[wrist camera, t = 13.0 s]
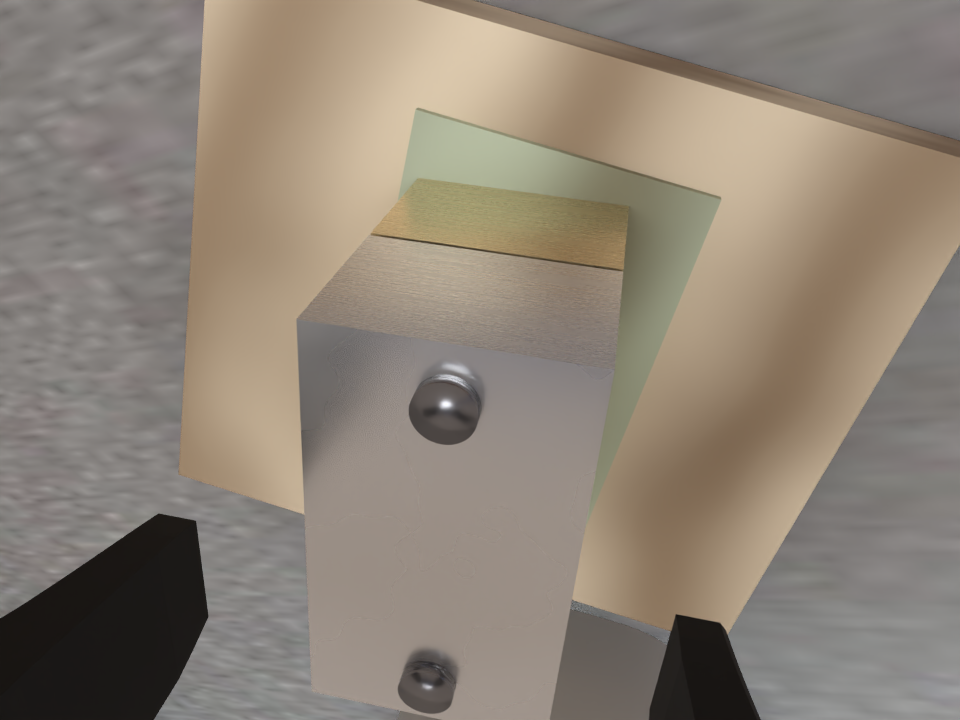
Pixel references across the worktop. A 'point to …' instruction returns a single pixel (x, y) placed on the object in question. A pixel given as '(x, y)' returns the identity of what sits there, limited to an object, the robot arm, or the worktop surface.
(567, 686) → the lumpy-topped squat cylinder
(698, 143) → the birch stand
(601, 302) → the block
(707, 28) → the worktop surface
